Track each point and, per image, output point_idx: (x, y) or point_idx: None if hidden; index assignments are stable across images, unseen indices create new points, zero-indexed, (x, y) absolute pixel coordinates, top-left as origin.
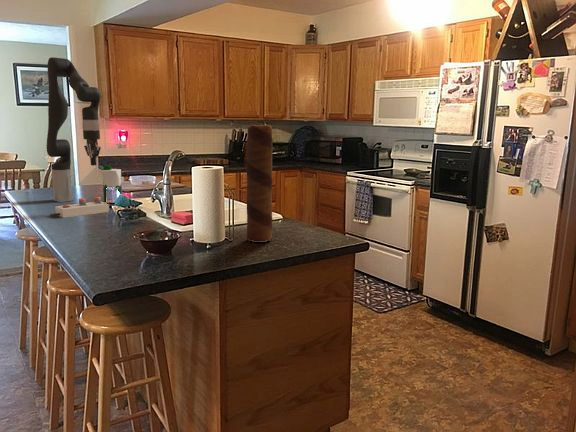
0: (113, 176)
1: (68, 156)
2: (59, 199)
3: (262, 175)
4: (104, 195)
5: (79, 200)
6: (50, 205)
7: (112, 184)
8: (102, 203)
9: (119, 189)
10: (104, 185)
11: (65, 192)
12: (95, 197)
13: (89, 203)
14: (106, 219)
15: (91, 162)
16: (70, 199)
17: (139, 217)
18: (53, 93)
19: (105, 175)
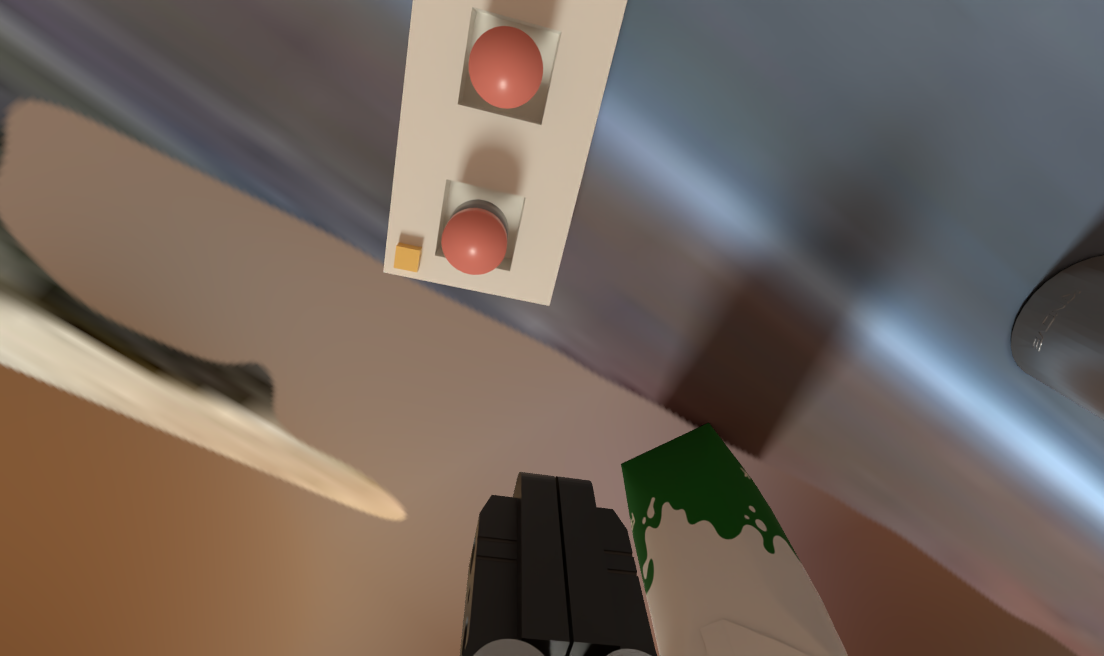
0: (683, 650)
1: None
2: (1089, 271)
3: None
4: (723, 465)
5: (505, 27)
6: (1047, 120)
7: (672, 568)
8: None
9: (640, 568)
10: (746, 530)
11: (1099, 336)
12: (483, 228)
13: (535, 175)
14: (99, 15)
15: (544, 519)
16: (1019, 343)
17: (24, 251)
18: None
19: (768, 626)
